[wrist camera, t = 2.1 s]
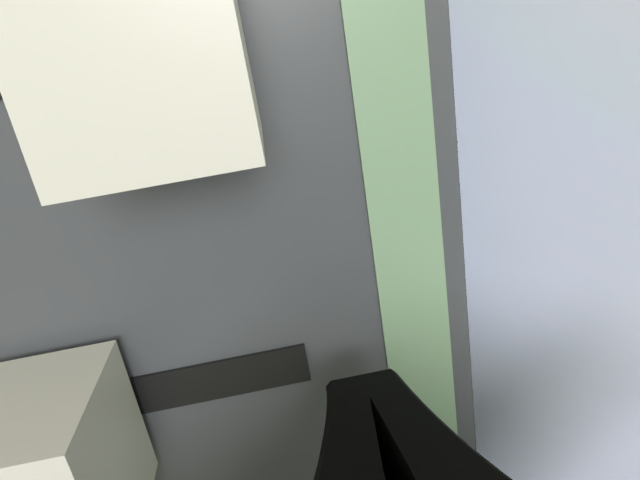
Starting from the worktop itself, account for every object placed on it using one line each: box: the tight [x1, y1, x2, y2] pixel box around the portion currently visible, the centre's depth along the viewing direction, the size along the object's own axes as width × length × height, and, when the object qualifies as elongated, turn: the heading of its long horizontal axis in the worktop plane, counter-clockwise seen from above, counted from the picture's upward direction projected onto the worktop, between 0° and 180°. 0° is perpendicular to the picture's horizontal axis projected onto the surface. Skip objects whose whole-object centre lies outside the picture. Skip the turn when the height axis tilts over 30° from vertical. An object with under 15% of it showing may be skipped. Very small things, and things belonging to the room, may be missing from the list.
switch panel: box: [0, 0, 476, 480], centre depth 14 cm, size 22×19×2 cm
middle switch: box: [0, 340, 158, 480], centre depth 11 cm, size 4×3×4 cm
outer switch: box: [0, 0, 266, 206], centre depth 8 cm, size 4×3×4 cm
